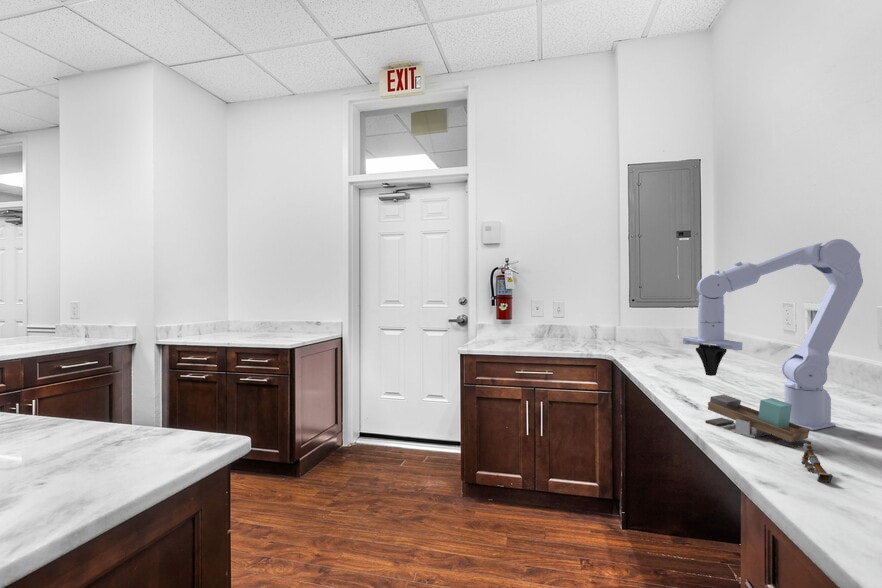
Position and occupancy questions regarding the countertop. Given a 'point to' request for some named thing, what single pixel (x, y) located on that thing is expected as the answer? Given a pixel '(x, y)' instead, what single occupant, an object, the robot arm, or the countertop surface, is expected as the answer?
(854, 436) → the countertop surface
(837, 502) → the countertop surface
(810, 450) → the wooden post with brackets
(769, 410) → the block
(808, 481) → the countertop surface
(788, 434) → the beam
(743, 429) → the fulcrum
